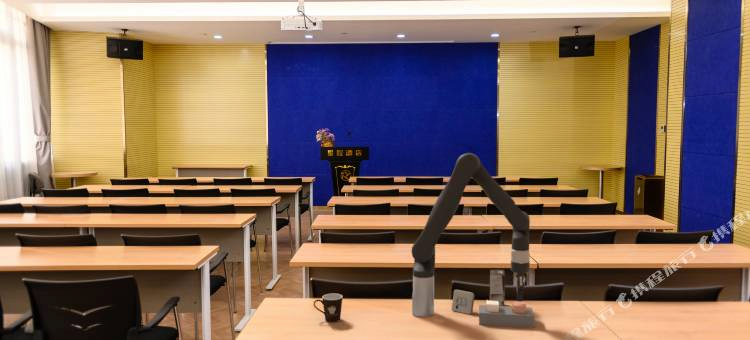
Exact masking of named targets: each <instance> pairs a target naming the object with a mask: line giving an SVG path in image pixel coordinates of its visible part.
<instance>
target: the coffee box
mask: <svg viewBox="0 0 750 340" xmlns="http://www.w3.org/2000/svg"><path fill="white" fill-rule="evenodd" d="M489 272H490V273H489V301H499V306H505V297H506V296H505V289H506V288H505V287H506V286H505V285H506V284H505V283H506V282H505V281H506V273H505V269H490V271H489Z"/></svg>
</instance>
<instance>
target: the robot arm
mask: <svg viewBox="0 0 750 340" xmlns="http://www.w3.org/2000/svg"><path fill="white" fill-rule="evenodd" d="M487 170H488V169H486V167H484V165H483V162H481V160H480V157H478V156H477V155H476V153H472V152H466V153H463V154H461V155H459V157H458V158H457V160H456V162H455V165H454V169H453V171H452V174H451V175H450V177H449V180H448V182H447V183H446V185H445V186H444V187H443V189H442V190H441V192H440V194H439V195H438V198H437V199H436V201H435V202H434V204H433V206H432V209H431V211H430V213H429V216H428V219H427V222H425V223H426V224H425V226H424V228H423V229H422V231H421V233H420V235H419V237H417V239H416V240H415V242H414V243H413V245H412V247H411V256H412V257H413V261H414V262H413V268H412V295H411V303H412V304H411V305H412V306H411V314H412V316H416V317H421V318H422V317H423V318H426V317H432V316H433V315H435V268H436V245H437V243H438V241H439V238H440V237H441V235H442V233H443V232H444V231H445V229H446V228H447V227H448V225H450V222H451V221H452V220H453V218H454V215H455V214H456V212H457V210H458V208H459V205H460V203H461V200H462V196H463V194H464V192H465V189H466V187H467V186H468V183H469V182H470V181H471V179H473V180H474V181H475V182H476V183H477V184H478V185H479V187H480V188H481V189H482V191H483V192H484V193H485V195H486V196H487V197H488V200H490V201H491V203H493V205H494V206H495V207H496V208H497V209H498V210H499V211H500V212H501V213H502V215H503V216H504V217H505V219H506V220H507V222H508V223H509V224H510V226H511V227H512V237H511V251H510V252H511V253H510V271H512V272H513V273H516V274H514V278H515V288H516V289H515V290H516V302H524V301H523V300H524V298H523V297H524V292H525V290H524V289H525V283H526V275H525V273H526V274H527V273H529V272H530V271H531V270H530V268H531V267H530V263H531V262H530V261H531V257H530V255H531V254H530V238H529V237H530V225H531V224H530V223H531V219H530V216H529V214H528V213H527V212H525V211H523V210H521V209H520V208H519V207H518V206H517V204H516V202H515V200H514V199H513V198H512V197H511V195H510V194H508V192H507V191H505V189H504V188H503V187H502V186H501V185H500V184H499V183H498V182H497V181H496V180H495V179H494V178H493V177H492V176H491V175H490V173H489V172H488V171H487Z"/></svg>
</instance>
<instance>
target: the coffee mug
mask: <svg viewBox="0 0 750 340" xmlns="http://www.w3.org/2000/svg"><path fill="white" fill-rule="evenodd" d="M321 297H322V300H321V299H316V300H314V301H313V306H314V308H315V309H316V310H317V311H319V312H320V313H322V314H323V315H324V319H325V321H326V322H328V323H337V322H340V321H341V314H342V305H343V295H342V294H340V293H327V294H326V293H325V294H324V295H322V296H321ZM316 302H321V304H322V306H323V310H321V309H320V308H318V307H317V306H316Z"/></svg>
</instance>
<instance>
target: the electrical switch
mask: <svg viewBox="0 0 750 340" xmlns="http://www.w3.org/2000/svg"><path fill="white" fill-rule="evenodd" d="M474 303H475V294H474V293H473V292H472V291H471V292H470V291H467V290H466V291H465V290H460V289H454V290H453V298H452V303H451V310H452V311H453V312H456V313H457V312H458V313H462V314H467V315H472V313H473V310H474Z"/></svg>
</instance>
